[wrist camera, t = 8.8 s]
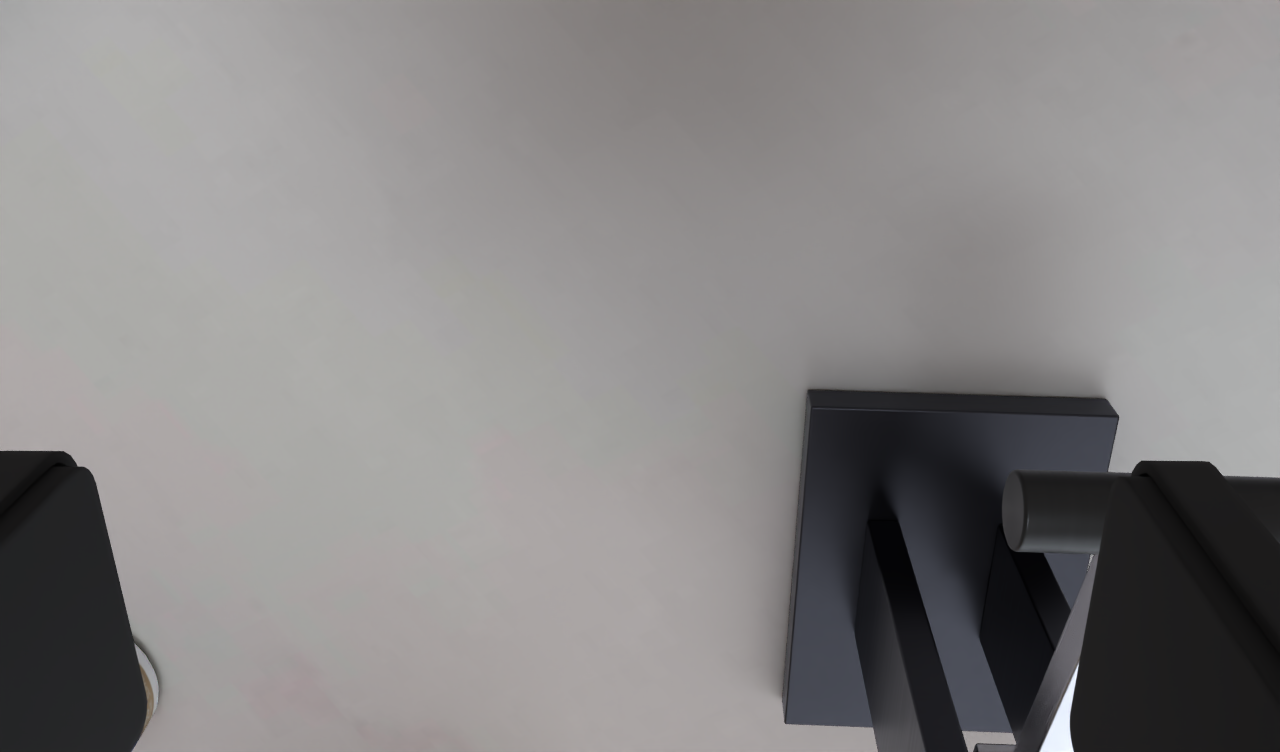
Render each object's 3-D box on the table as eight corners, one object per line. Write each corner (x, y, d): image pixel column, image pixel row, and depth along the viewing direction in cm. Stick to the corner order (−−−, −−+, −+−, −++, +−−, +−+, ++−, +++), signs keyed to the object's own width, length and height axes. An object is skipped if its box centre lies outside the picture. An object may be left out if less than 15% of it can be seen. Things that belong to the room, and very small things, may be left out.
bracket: (807, 389, 35) (862, 659, 24) (1107, 398, 35) (1311, 676, 23) (782, 700, 40) (817, 1049, 29) (1043, 710, 40) (1186, 1067, 28)
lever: (1007, 432, 21) (1036, 536, 19) (1292, 441, 21) (1346, 547, 19) (898, 797, 30) (910, 892, 28) (1097, 806, 29) (1122, 901, 28)
